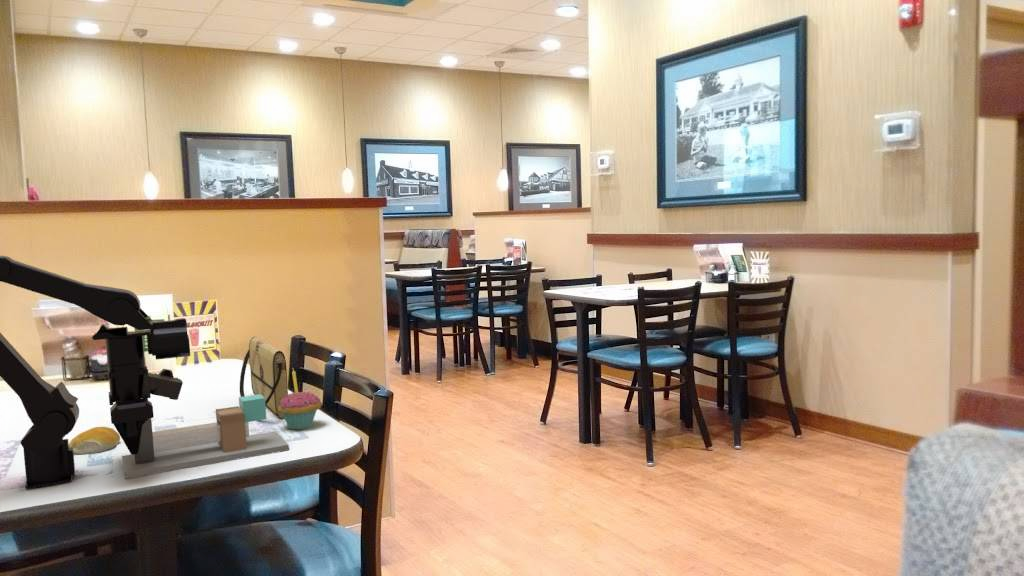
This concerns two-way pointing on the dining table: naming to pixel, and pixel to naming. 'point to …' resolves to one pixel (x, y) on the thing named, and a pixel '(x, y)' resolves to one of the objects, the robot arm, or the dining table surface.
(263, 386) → the shoulder bag
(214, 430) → the grey long block
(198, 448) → the guide
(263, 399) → the block
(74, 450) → the bread roll
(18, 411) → the dining table surface
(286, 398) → the cupcake
